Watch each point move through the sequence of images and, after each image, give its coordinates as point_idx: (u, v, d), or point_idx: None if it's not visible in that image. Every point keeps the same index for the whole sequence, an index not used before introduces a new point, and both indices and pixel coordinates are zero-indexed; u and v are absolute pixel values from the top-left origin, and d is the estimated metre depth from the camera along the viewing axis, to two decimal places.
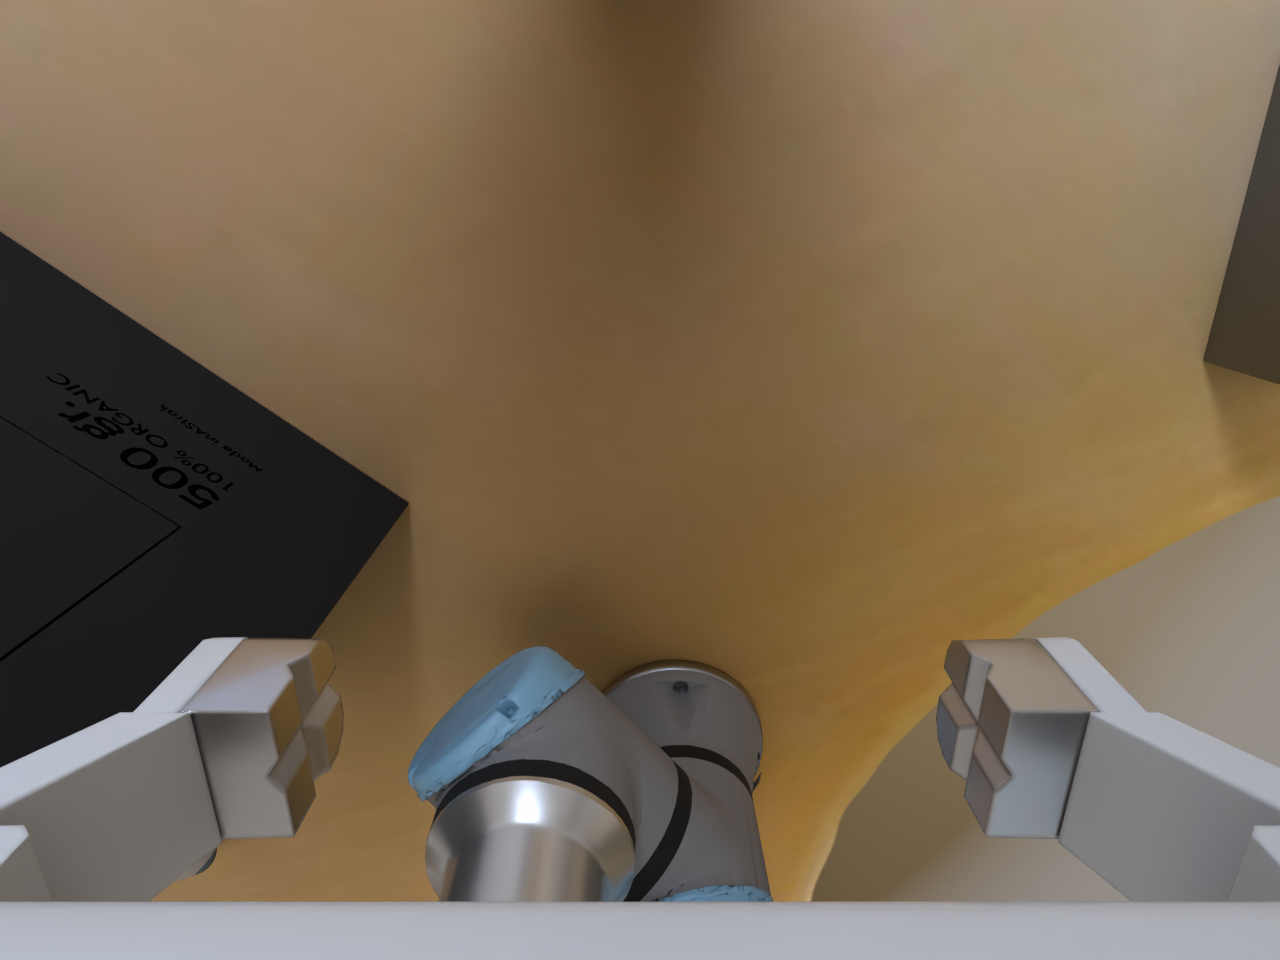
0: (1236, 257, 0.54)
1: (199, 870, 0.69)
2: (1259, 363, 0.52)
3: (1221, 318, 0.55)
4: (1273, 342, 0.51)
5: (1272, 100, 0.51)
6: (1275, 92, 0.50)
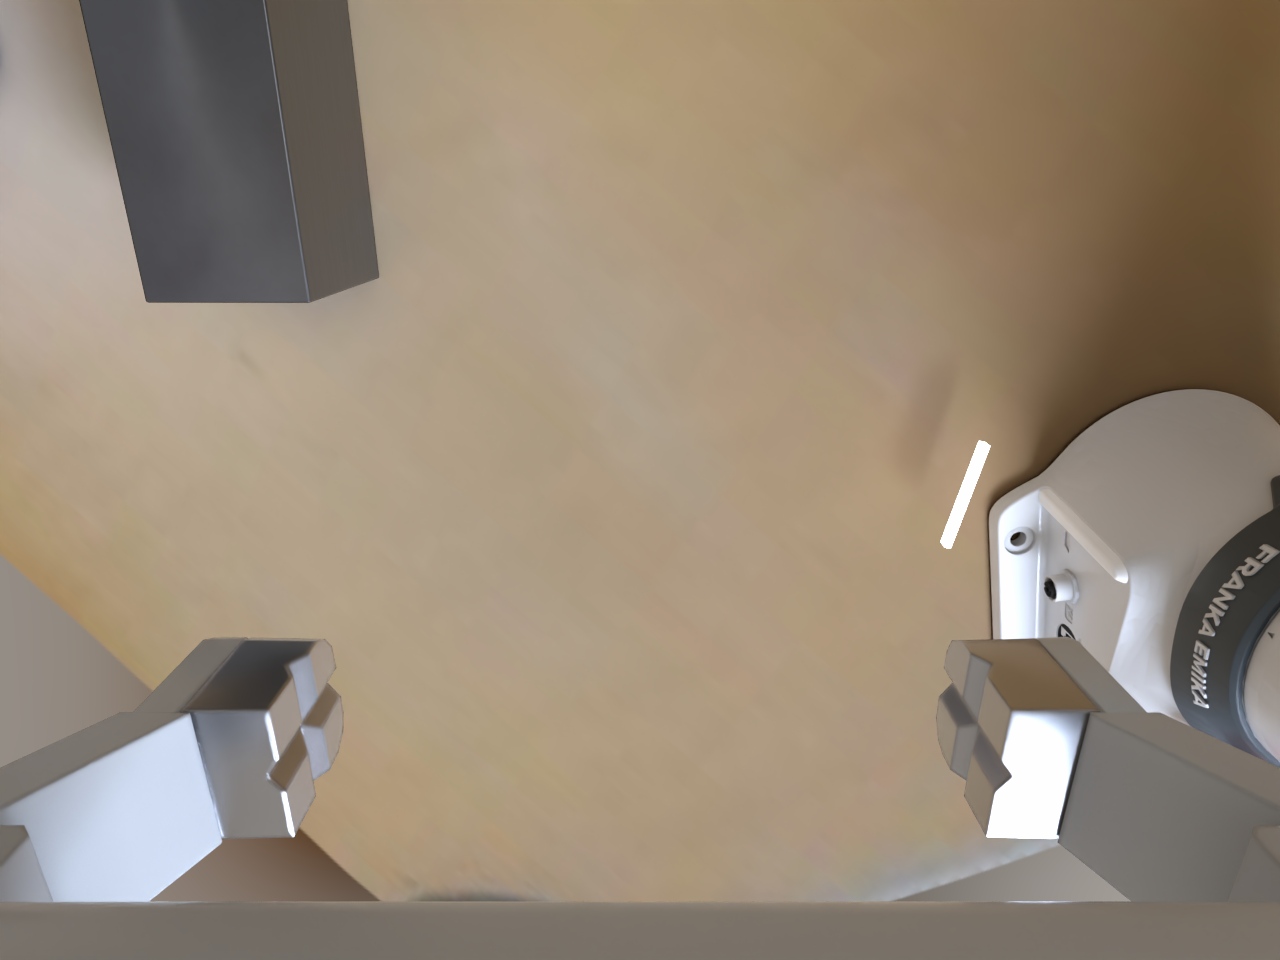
0: None
1: None
2: None
3: None
4: None
5: (361, 135, 0.36)
6: (362, 146, 0.36)
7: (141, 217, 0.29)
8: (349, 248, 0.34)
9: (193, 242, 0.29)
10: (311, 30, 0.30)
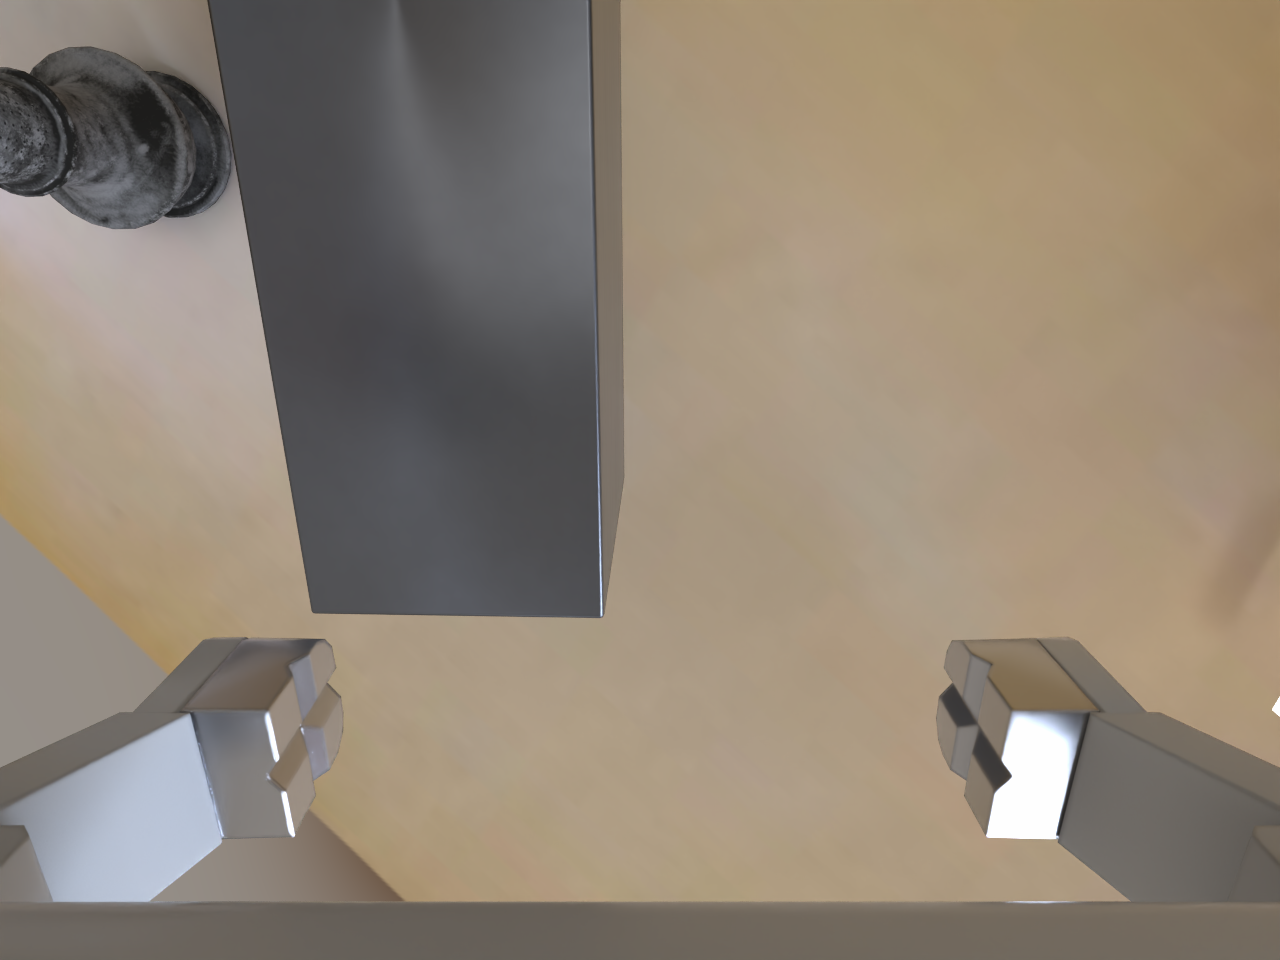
0: None
1: None
2: None
3: None
4: None
5: (622, 272, 0.22)
6: (622, 289, 0.22)
7: (314, 480, 0.16)
8: (616, 468, 0.21)
9: (405, 521, 0.16)
10: (609, 127, 0.17)
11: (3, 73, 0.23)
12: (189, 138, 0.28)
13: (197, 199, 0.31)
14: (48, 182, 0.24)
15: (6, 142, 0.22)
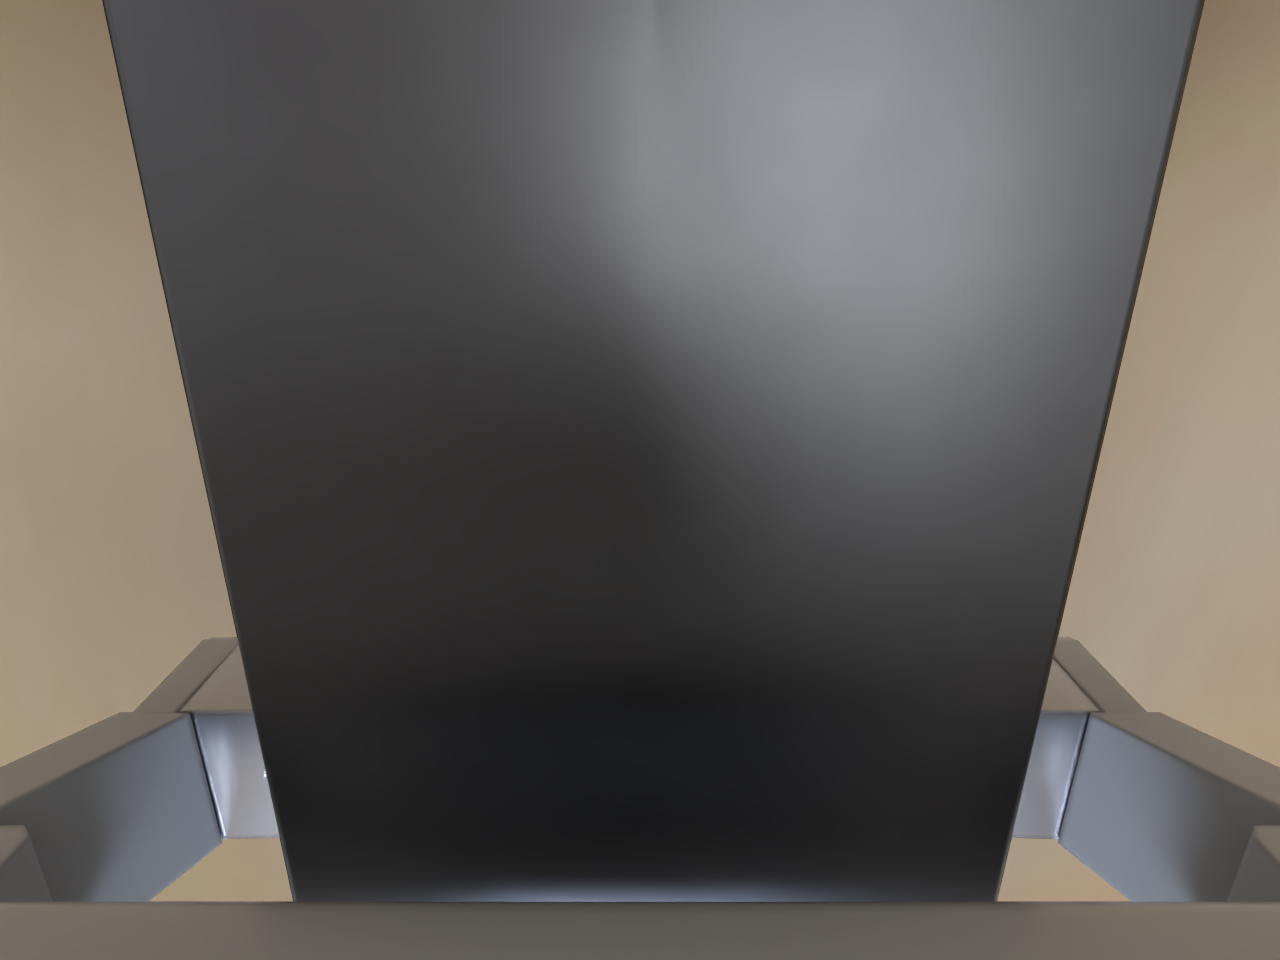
0: None
1: None
2: None
3: None
4: None
5: None
6: None
7: None
8: None
9: None
10: None
11: None
12: None
13: None
14: None
15: None
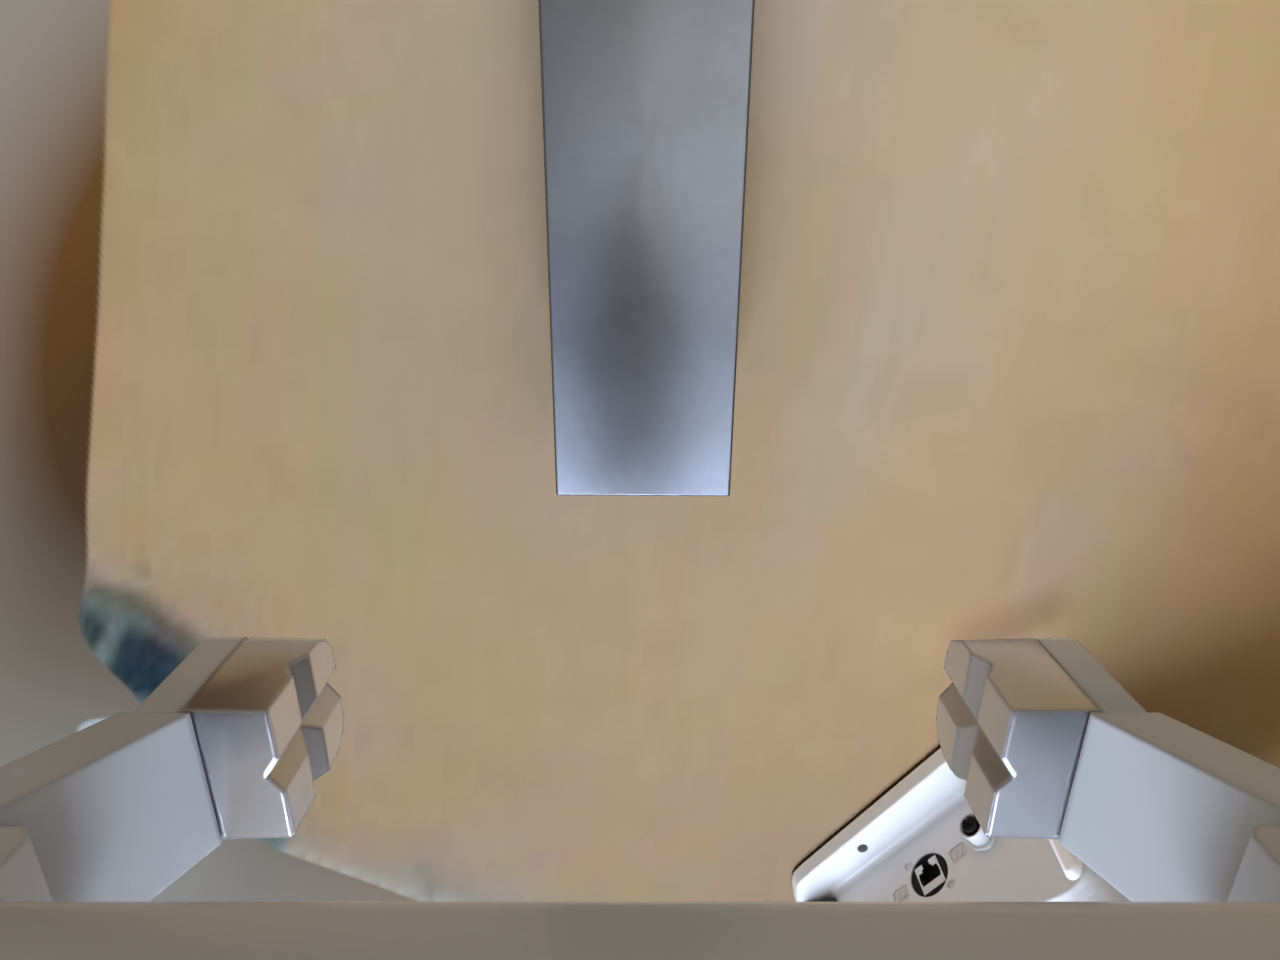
0: None
1: None
2: None
3: None
4: None
5: None
6: None
7: (568, 413, 0.27)
8: None
9: (619, 438, 0.28)
10: None
11: None
12: None
13: None
14: None
15: None
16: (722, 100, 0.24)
